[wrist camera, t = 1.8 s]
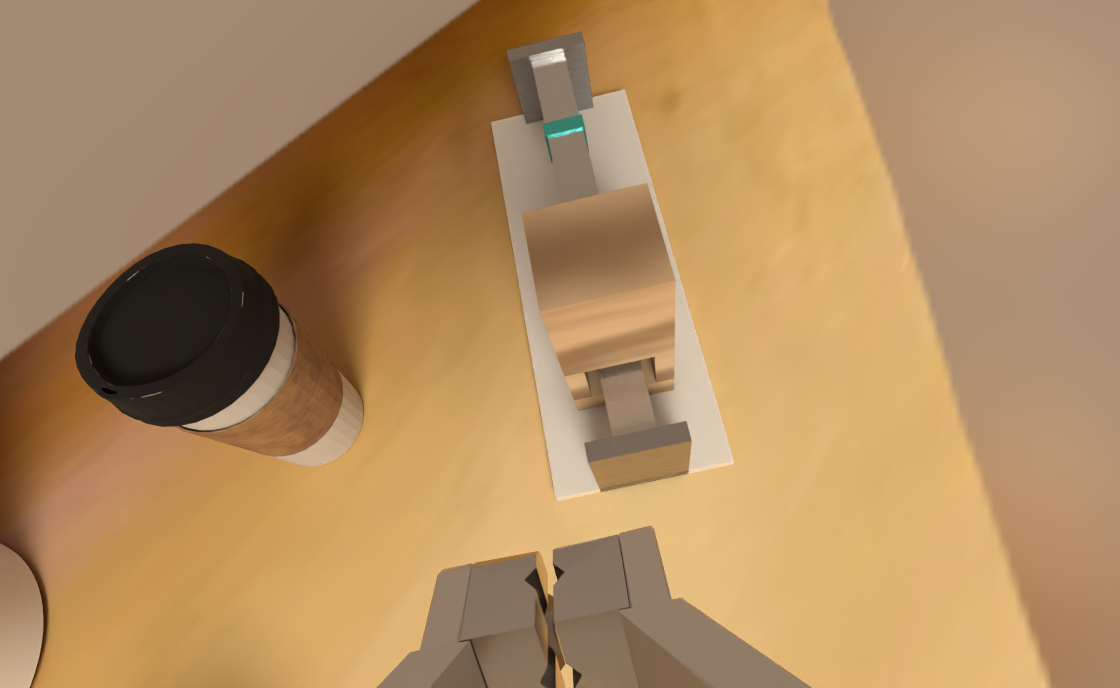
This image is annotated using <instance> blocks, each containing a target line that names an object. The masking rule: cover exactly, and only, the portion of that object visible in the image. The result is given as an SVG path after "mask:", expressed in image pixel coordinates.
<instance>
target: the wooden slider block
mask: <svg viewBox="0 0 1120 688" xmlns="http://www.w3.org/2000/svg"><path fill="white" fill-rule="evenodd" d="M521 214H522V219H523V225H524V230H525V235H526V241H527V246H528V252H529V257H530V263H531V268H532V274H533V279H534V284H535V290H536V295H537V301H538V306H539V312H540V314H541V317H542V320H543V322H544V325H545V327H546V330H547V332H548V335H549V338H550V340H551V343H552V345H553V348H554V350H555V353H556V356H557V358H558V361H559V363H560V366H561V368H562V371H563V374H564V376H565V379H566V381H567V384H568V386H569V389H570V392H571V394H572V397H573V399H574V402H575V404H576V407H577V410H578V411H580V410H585V409H589V408H594V407H598V406H603V405H606V403H605V399H604V394H603V390H602V385H601V380H600V376H599V371H598V369H601V368H606V367H610V366H615V365H620V364H624V363H629V362H633V361H638V360H640V361H641V365H642V369H643V373H644V377H645V381H646V385H647V389H648V393H649V395H653V394H658V393H663V392H667V391H672V390H674V364H675V293H676V280H675V277H674V273H673V270H672V267H671V263H670V260H669V256H668V253H667V249H666V246H665V242H664V239H663V236H662V232H661V229H660V225H659V222H658V218H657V215H656V211H655V208H654V205H653V201H652V198H651V194H650V191H649V187H648V184H647V183H645V184H640V185H636V186H632V187H628V188H623V189H619V190H615V191H611V192H607V193H602V194H598V195H594V196H590V197H586V198H581V199H577V200H573V201H569V202H564V203H560V204H556V205H552V206H548V207H543V208H539V209H535V210H531V211H527V212H522V213H521Z"/></svg>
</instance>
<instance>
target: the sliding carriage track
mask: <svg viewBox="0 0 1120 688" xmlns="http://www.w3.org/2000/svg"><path fill="white" fill-rule="evenodd" d="M507 55H508V60H509V64H510V67H511V71H512V75H513V78H514V82H515V86H516V89H517V93H518V96H519V100H520V104H521V107H522V111H523V115H524V118H525V122H526V124H529V123H533V122H537V121H541V120H544V124H542V125H543V130H544V135H545V139H546V143H547V147H548V151H549V155H550V159H551V163H553V164H554V169H555V173H556V178H557V183H558V187H559V192H560V196H561V201H562V203H564V202H568V201H572V200H577V199H581V198H585V197H589V196H593V195H598V194H599V192H598V188H597V184H596V180H595V176H594V172H593V168H592V164H591V160H590V156H589V148H588V142H587V136H586V130H585V125H584V121H583V117H582V114H580V115H579V112H578V111H582V110H586V109H590V108H594V107H593V100H592V93H591V86H590V79H589V72H588V65H587V58H586V51H585V44H584V40H583V36H582V32H578V33H574V34H570V35H566V36H562V37H558V38H554V39H550V40H546V41H542V42H538V43H534V44H530V45H526V46H522V47H518V48H514V49H511V50H507ZM598 371H599V376H600V380H601V385H602V390H603V394H604V399H605V403H606V408H607V413H608V417H609V422H610V426H611V431H612V436H613V437H609V438H604V439H599V440H595V441H590V442H585V443H584V445H585V450H586V455H587V460H588V464H589V466H590V468H591V471H592V473H593V475H594V477H595V480H596V482H597V484H598V486H599V489H600V491H601V492H603V491H608V490H611V489H612V488H614V487H615V489H617V488H622V487H623V485H624V486H626V487H627V485H628V486H629V485H630V484H632V485H636V484H637V482H638V483H640V481H641V482H642V481H643V482H644V483H646V482H649V480H650V482H651V480H652V481H653V480H657V479H659V480H660V479H664V477H666V478H668V477H669V476H670V477H673V476H674V477H675V476H676V475H680V474H681V475H682V474H683V475H684V474H688V473H689V463H690V454H691V444H692V440H691V436H690V432H689V428H688V425H687V421H683V422H679V423H674V424H669V425H665V426H660V427H657V425H656V421H655V417H654V413H653V409H652V405H651V401H650V397H649V393H648V389H647V385H646V381H645V377H644V373H643V369H642V365H641V361H640V360H638V361H633V362H629V363H624V364H620V365H615V366H610V367H606V368H601V369H598ZM675 473H676V475H675ZM667 475H669V476H667ZM663 476H664V477H663ZM661 477H662V478H661ZM670 477H669V478H670ZM650 478H651V479H650ZM643 482H642V483H643ZM629 483H630V484H629ZM617 486H618V487H617ZM620 486H622V487H620ZM630 486H631V485H630ZM602 488H603V489H602Z"/></svg>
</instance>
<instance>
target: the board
mask: <svg viewBox="0 0 1120 688" xmlns="http://www.w3.org/2000/svg"><path fill="white" fill-rule="evenodd" d="M592 100H593V107H594V108H590V109H586V110H582V111H578V112H579V115H580V114H582V117H583V121H584V125H585V130H586V136H587V142H588V148H589V156H590V160H591V164H592V168H593V172H594V176H595V180H596V184H597V188H598V192H599V194H602V193H606V192H610V191H614V190H619V189H623V188H627V187H631V186H636V185H640V184H645V183H647V184H648V187H649V191H650V194H651V198H652V201H653V205H654V208H655V211H656V215H657V218H658V222H659V225H660V229H661V232H662V236H663V239H664V242H665V246H666V249H667V253H668V256H669V260H670V263H671V267H672V270H673V273H674V277H675V280H676V293H675V364H674V390H672V391H667V392H663V393H658V394H653V395H649V397H650V401H651V405H652V409H653V413H654V417H655V421H656V425H657V427H660V426H665V425H669V424H674V423H679V422H683V421H687V425H688V428H689V432H690V436H691V440H692V444H691V454H690V463H689V473H694V472H698V471H703V470H708V469H713V468H717V467H722V466H727V465H732V464H733V462H734V459H733V456H732V452H731V449H730V446H729V442H728V439H727V435H726V432H725V429H724V425H723V422H722V418H721V415H720V412H719V408H718V405H717V401H716V398H715V395H714V391H713V388H712V384H711V381H710V378H709V374H708V371H707V367H706V364H705V361H704V357H703V354H702V350H701V347H700V344H699V340H698V337H697V333H696V330H695V327H694V323H693V320H692V316H691V313H690V310H689V306H688V303H687V300H686V296H685V293H684V289H683V286H682V283H681V279H680V276H679V272H678V269H677V266H676V262H675V259H674V255H673V252H672V249H671V245H670V242H669V238H668V235H667V232H666V228H665V225H664V221H663V218H662V215H661V211H660V208H659V204H658V201H657V198H656V194H655V191H654V187H653V184H652V181H651V177H650V174H649V170H648V167H647V164H646V160H645V157H644V153H643V150H642V147H641V143H640V140H639V136H638V133H637V130H636V126H635V123H634V119H633V116H632V113H631V109H630V106H629V102H628V99H627V96H626V92H625V89H623V90H619V91H615V92H611V93H607V94H603V95H599V96H595V97H592ZM542 124H544V120H541V121H537V122H533V123H529V124H526V122H525V118H524V115H523V114H522V115H518V116H514V117H510V118H506V119H502V120H498V121H494V122H491V125H492V131H493V137H494V143H495V148H496V154H497V160H498V166H499V172H500V178H501V183H502V189H503V195H504V201H505V207H506V212H507V218H508V224H509V230H510V236H511V242H512V247H513V253H514V259H515V265H516V271H517V277H518V282H519V288H520V294H521V300H522V306H523V311H524V317H525V323H526V329H527V335H528V341H529V346H530V352H531V358H532V364H533V370H534V376H535V381H536V387H537V393H538V399H539V405H540V410H541V416H542V422H543V428H544V434H545V440H546V445H547V451H548V457H549V463H550V469H551V475H552V480H553V486H554V492H555V498H556V499H557V501H560V500H565V499H570V498H574V497H579V496H584V495H589V494H593V493H598V492H601V491H600V489H599V486H598V484H597V482H596V480H595V477H594V475H593V473H592V471H591V468H590V466H589V464H588V460H587V455H586V450H585V445H584V443H585V442H590V441H595V440H599V439H604V438H609V437H613V436H612V431H611V426H610V422H609V417H608V413H607V408H606V405H603V406H598V407H594V408H589V409H585V410H580V411H578V410H577V407H576V404H575V402H574V399H573V397H572V394H571V392H570V389H569V386H568V384H567V381H566V379H565V376H564V374H563V371H562V368H561V366H560V363H559V361H558V358H557V356H556V353H555V350H554V348H553V345H552V343H551V340H550V338H549V335H548V332H547V330H546V327H545V325H544V322H543V320H542V317H541V314H540V312H539V306H538V301H537V295H536V290H535V284H534V279H533V274H532V268H531V263H530V257H529V252H528V246H527V241H526V235H525V230H524V225H523V219H522V214H521V213H522V212H527V211H530V210H534V209H539V208H543V207H547V206H551V205H555V204H560V203H562V201H561V196H560V192H559V187H558V183H557V178H556V173H555V169H554V164H553V163H551V159H550V155H549V151H548V147H547V143H546V139H545V135H544V130H543V125H542ZM689 473H688V474H689ZM675 475H676V473H675ZM680 475H681V474H680ZM682 475H683V474H682ZM667 476H669V475H667ZM676 476H679V475H676ZM663 477H664V476H663ZM669 477H670V476H669ZM669 477H668V478H669ZM673 477H674V476H673ZM661 478H662V477H661ZM665 478H666V477H664V479H665ZM650 479H651V478H650ZM657 480H659V479H657ZM651 481H652V480H651ZM653 481H655V480H653ZM642 482H643V481H642ZM642 482H641V481H640V483H638V482H637V484H641V483H642ZM649 482H650V480H649ZM643 483H644V482H643ZM629 484H630V483H629ZM630 485H631V486H632V484H630ZM630 485H629V486H630ZM627 486H628V485H627ZM617 487H618V486H617ZM620 487H622V486H620ZM623 487H626V486H624V485H623ZM602 489H603V488H602ZM613 489H615V487H614V488H612V489H611V490H613Z"/></svg>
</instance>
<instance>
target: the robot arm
mask: <svg viewBox="0 0 1120 688" xmlns="http://www.w3.org/2000/svg"><path fill="white" fill-rule="evenodd" d="M553 565H554V569H555V573H556V576H557V580H558V581H557V582H556V583H555V585H554V586H553V596H551V595H550V594H548V581H547V571H546V568H545V565H544V562H543V558H542V556H541V554H540V553H539V551H536V552H531V553H526V554H520V555H515V556H509V557H504V558H499V559H493V560H488V561H482V562H477V563H475V564H467V565H462V566H457V567H452V568H448V569H443V570H442V571H441V572H440V573H439V574H438V576H437V580H436V584H435V588H434V593H433V597H432V601H431V605H430V610H429V614H428V618H427V622H426V627H425V631H424V635H423V639H422V644H421V648H420V650H419V651H415V652H410V653H409V654H408V655H407V656H406V657H405V658H404V660H403V661H402V662H401V663H400V664H399V665H398V666H397V667H396V668H395V669H394V670H393V671H392V672H391V673H390V674H389V675H388V676H387V677H386V678H385V679H384V681H383V682H382V683H381V684H380V685H379V686H378V687H377V688H565V685H564V681H563V678H562V674H561V669H562V668H563V667H564V665H565V662H566V664H568V665H569V666H571V667H572V668H573V683H574V688H811V687H810V686H808V685H807V684H806V683H804V682H803V681H801V680H800V679H798V678H797V677H795V676H794V675H793V674H791V673H790V672H788V671H787V670H785V669H784V668H782V667H781V666H780V665H778V664H777V663H775V662H774V661H772V660H771V659H769V658H768V657H766V656H765V655H764V654H762V653H761V652H759V651H758V650H756V649H755V648H753V647H752V646H751V645H749V644H748V643H746V642H745V641H743V640H742V639H740V638H739V637H738V636H736V635H735V634H733V633H732V632H730V631H729V630H727V629H726V628H725V627H723V626H722V625H720V624H719V623H717V622H716V621H714V620H713V619H711V618H710V617H709V616H707V615H706V614H704V613H703V612H701V611H700V610H698V609H697V608H696V607H694V606H693V605H691V604H690V603H688V602H687V601H685V600H684V599H683V598H679V599H673V600H672V599H671V595H670V591H669V587H668V583H667V579H666V575H665V571H664V567H663V563H662V559H661V555H660V551H659V547H658V543H657V539H656V535H655V531H654V528H653V527H652V526H648V527H644V528H639V529H635V530H631V531H627V532H623V533H620V534H619V535H614V536H609V537H605V538H600V539H596V540H591V541H587V542H582V543H578V544H573V545H568V546H564V547H559V548H555V549H554V550H553ZM42 636H43V606H42V600H41V595H40V591H39V588H38V585H37V582H36V580H35V577H34V575H33V573H32V572H31V570H30V568H29V567H28V565H27V564H26V563H25V562H24V560H23V559H22V558H21V557H20V556H19V555H18V554H16V553H15V552H14V551H12V550H11V549H9V548H7V547H6V546H4V545H2V544H1V543H0V688H30V685H31V682H32V680H33V677H34V674H35V670H36V667H37V664H38V659H39V655H40V650H41V644H42Z"/></svg>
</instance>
